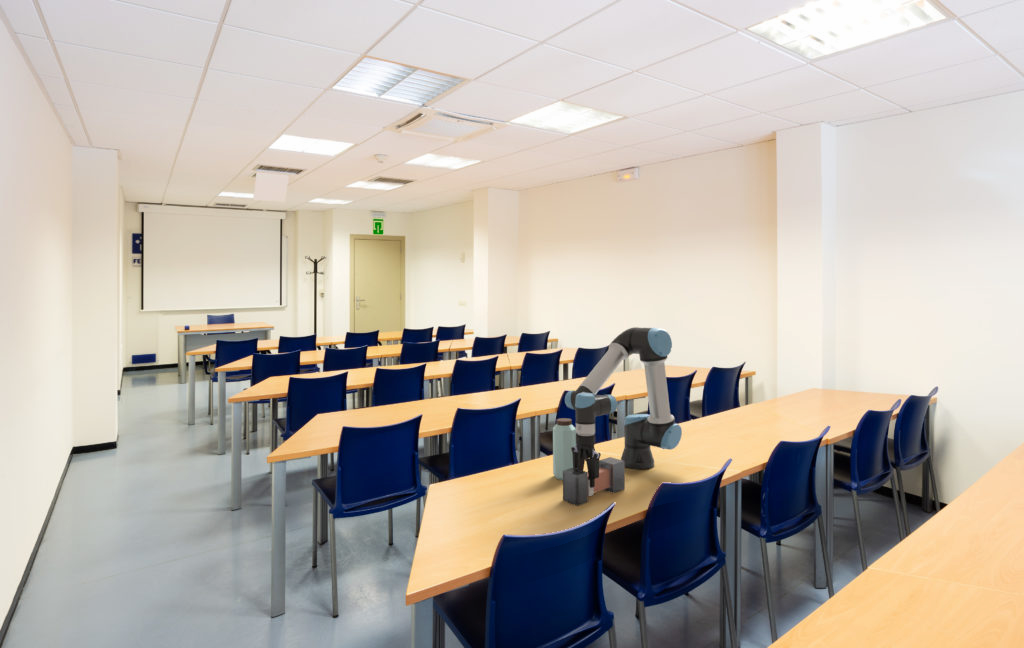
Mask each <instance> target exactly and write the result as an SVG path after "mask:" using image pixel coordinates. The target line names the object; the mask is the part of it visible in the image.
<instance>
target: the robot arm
mask: <svg viewBox="0 0 1024 648" xmlns="http://www.w3.org/2000/svg"><path fill="white" fill-rule="evenodd" d="M672 348H673V341H672V338H671V335H670V334H669V332H667V331H666V330H665V329H663V328H659V327H638V326H637V327H629V328H628V329H626V330H624V331H622V332H621V333H619V334H618V335H617V336H616V337H615V338H614V339H612V341H611V342H610V344H609V345H608V350H607V351H606V352H605V353H604V355H603V356H602V357H601V359H600V360H599V361H598V362H597V364H596V365H595V366H594V367H593V368H592V370H591V371H590V372H589V374H588V375H587V376H586V377H585V379H584V380H583V381H582V382H581V383H580V385H578V387H577V389H575V390H569V391H568V392H566V393H565V396H564V403H565V405H566V407H567V408H568V409H571V410H575V428H576V447H572V448H571V450H572V454H573V468H576V469H579V470H582V471H584V468H585V462H586V468H587V472H588V476H589V478H588V479H587V491H588V497H590V496H594V493H595V492H594V486H595V479H596V478H599V460H600V458H601V453H600V452H597V451H596V449H595V444H596V417H600V416H604V415H610V414H612V413H615V412H616V410H617V409H618V401H617V399H616V397H615V396H614V395H612V394H604V395H603V394H602V395H601V394H598V392H599V391H600V390H601V389H602V387H603V386H604V385H605V383H606V382H607V381H608V379H609V378H610V377H611V376H612V374H613V373H614V372H615V370H617V368H618V367H619V365H620V364H621V363H622V361H624V360H627V359H628V358H629V357H630V356H631V355H633V354H636V355H639V360H640V362H642V364H643V365H644V374H645V382H646V383H645V384H646V389H647V391H646V392H647V398H648V399H647V400H648V408H649V414H648V413H637V414H634V413H633V414H628V415H627V416H625V417H624V424H623V427H624V434H623V436H624V446H623V447H624V448H623V451H622V455H621V457H620V460H622V461H624V467H625V468H628V469H633V470H634V469H635V470H645V469H646V470H647V469H651V468H653V467H654V466H655V459H654V457H653V452H652V449H651V447H654V448H655V447H656V448H659V449H662V450H668V451H669V450H671V451H672V450H674V449H676V448H677V446H679V443H680V441H681V440H682V433H683V431H682V430H683V429H682V427H681V426H680V424H679V423H676V419H675V416H674V415H673V414H671V408H670V401H669V400H670V399H669V391H668V383H667V382H668V381H667V374H666V372H667V371H666V365H665V364H666V363H665V362H666V360H667V359H668V356H669V355H670V354H671V352H672Z"/></svg>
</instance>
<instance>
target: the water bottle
mask: <svg viewBox="0 0 1024 648" xmlns="http://www.w3.org/2000/svg"><path fill="white" fill-rule="evenodd" d="M576 434H577V433H576V426H574V425H573V419H571V418H568V417H567V418H566V417H564V418H563V417H562V418H560V417H559V418H557V419H556V422H555V424H554V426H553V427H552V471H553V472H552V473H553V476H554V477H555V478H556V479H557V480H561V481H563V470H567V469H570V468H573V454H572V450H571V448H572V447H576V446H577V444H576Z"/></svg>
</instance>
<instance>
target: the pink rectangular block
mask: <svg viewBox="0 0 1024 648" xmlns="http://www.w3.org/2000/svg"><path fill="white" fill-rule="evenodd" d="M586 472H587V479H588V478H589V476H588V471H586ZM609 487H610V470H609V469H606V468H599V478H596V479H595V486H594V493H596V492H600V491H604V490H603V489H606V488H609Z"/></svg>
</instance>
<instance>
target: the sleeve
mask: <svg viewBox="0 0 1024 648" xmlns="http://www.w3.org/2000/svg"><path fill="white" fill-rule="evenodd" d="M599 468H606V469H609V470H610V487H609V488H606V489H603V490H602V491H605V492H608V493H611V494H615V493H618V492H621V491H624V490H625V488H626V487H625V485H626V484H625V480H626V479H625V473H626V472H625V471H626V470H625V468H626V467H625V466H624V461H622V460H621V459H618V458H614V457H611V456H610V457H607V458H603V459H599Z"/></svg>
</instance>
